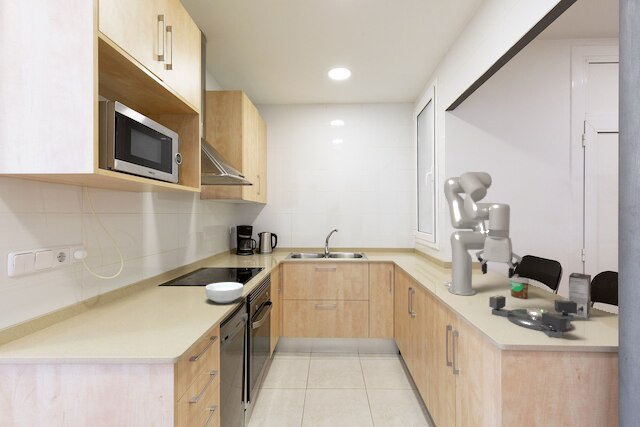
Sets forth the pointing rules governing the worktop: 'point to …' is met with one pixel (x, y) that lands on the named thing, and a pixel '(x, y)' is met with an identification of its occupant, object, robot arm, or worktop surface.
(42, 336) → the worktop surface
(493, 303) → the dark grey bracket
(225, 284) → the cereal bowl
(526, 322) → the levelling base
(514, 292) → the food container
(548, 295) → the worktop surface
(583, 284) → the coffee box
